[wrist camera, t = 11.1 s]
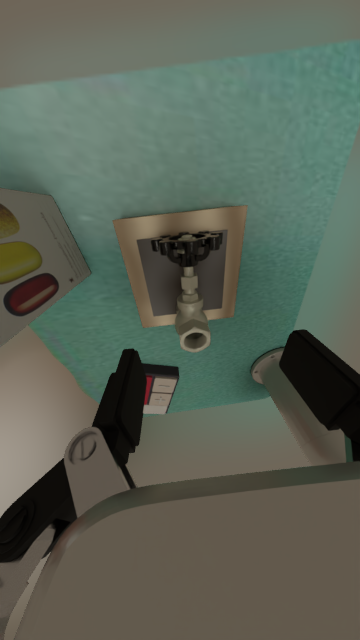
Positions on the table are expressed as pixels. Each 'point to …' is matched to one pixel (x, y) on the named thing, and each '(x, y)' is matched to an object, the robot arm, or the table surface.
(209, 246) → the valve
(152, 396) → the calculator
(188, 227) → the tapered tan tray
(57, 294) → the supplement box
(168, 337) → the table surface
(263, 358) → the robot arm
